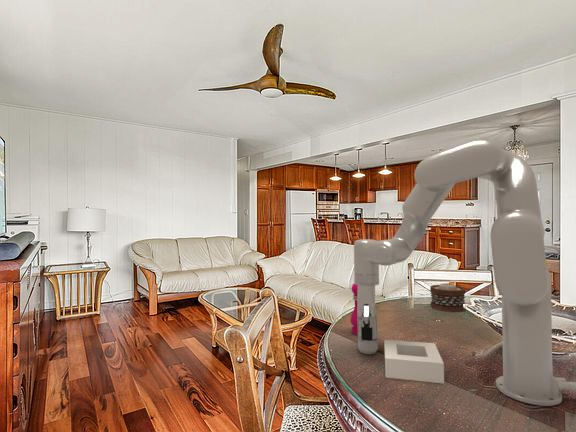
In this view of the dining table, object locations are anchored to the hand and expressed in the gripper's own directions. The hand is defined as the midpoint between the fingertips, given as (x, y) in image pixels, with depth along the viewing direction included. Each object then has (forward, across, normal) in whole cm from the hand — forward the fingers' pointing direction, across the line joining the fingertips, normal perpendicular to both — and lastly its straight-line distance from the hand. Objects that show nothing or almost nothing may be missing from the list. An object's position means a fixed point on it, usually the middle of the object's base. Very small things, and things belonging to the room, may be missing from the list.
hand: (367, 335), depth 105 cm
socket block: (+5, +10, +12) cm, 16 cm away
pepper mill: (+5, -17, -3) cm, 18 cm away
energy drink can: (+5, 0, 0) cm, 5 cm away
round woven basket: (+5, -60, +34) cm, 69 cm away
